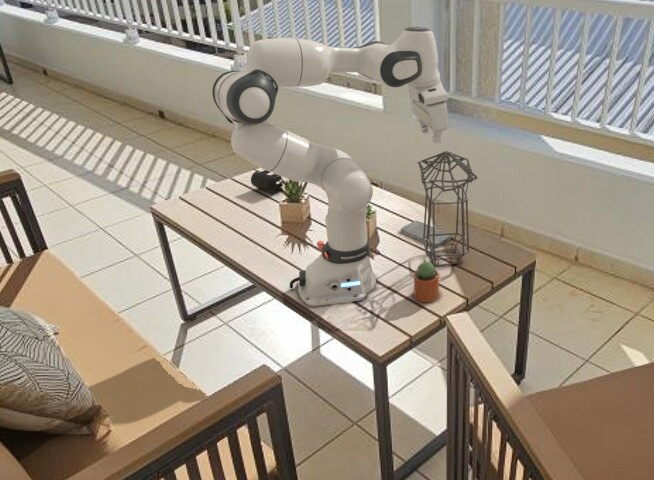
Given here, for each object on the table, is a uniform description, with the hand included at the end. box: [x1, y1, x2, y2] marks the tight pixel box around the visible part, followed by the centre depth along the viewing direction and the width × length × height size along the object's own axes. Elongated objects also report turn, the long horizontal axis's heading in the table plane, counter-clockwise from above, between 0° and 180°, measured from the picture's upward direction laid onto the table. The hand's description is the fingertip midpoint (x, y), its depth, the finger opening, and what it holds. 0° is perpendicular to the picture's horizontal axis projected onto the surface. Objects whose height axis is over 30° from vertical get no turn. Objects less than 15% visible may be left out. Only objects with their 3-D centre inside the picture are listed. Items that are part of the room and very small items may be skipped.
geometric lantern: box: [416, 150, 479, 267], centre depth 182 cm, size 16×16×35 cm
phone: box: [400, 220, 452, 249], centre depth 203 cm, size 8×16×1 cm, turn 47°
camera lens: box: [250, 169, 284, 195], centre depth 233 cm, size 10×7×7 cm
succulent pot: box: [413, 261, 440, 303], centre depth 172 cm, size 7×7×11 cm
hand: (431, 137), depth 174 cm, fingers open, 8 cm apart
